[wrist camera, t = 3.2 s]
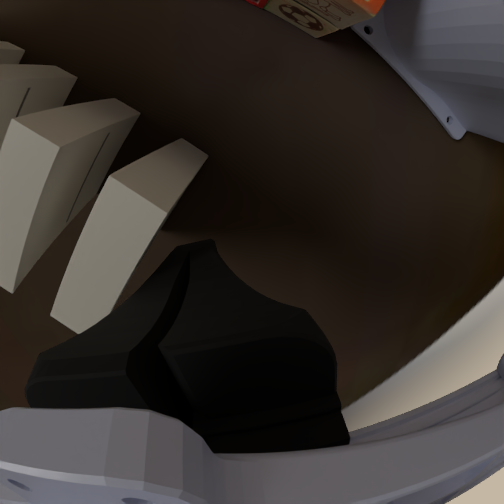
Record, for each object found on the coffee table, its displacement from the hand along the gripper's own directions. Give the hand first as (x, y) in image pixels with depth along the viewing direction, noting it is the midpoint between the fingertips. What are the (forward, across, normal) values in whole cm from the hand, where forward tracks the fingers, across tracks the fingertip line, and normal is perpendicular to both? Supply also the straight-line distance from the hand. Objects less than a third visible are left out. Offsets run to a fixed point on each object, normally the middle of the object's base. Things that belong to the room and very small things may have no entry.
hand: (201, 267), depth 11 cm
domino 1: (+6, +1, -2) cm, 6 cm away
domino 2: (+6, +4, -4) cm, 8 cm away
